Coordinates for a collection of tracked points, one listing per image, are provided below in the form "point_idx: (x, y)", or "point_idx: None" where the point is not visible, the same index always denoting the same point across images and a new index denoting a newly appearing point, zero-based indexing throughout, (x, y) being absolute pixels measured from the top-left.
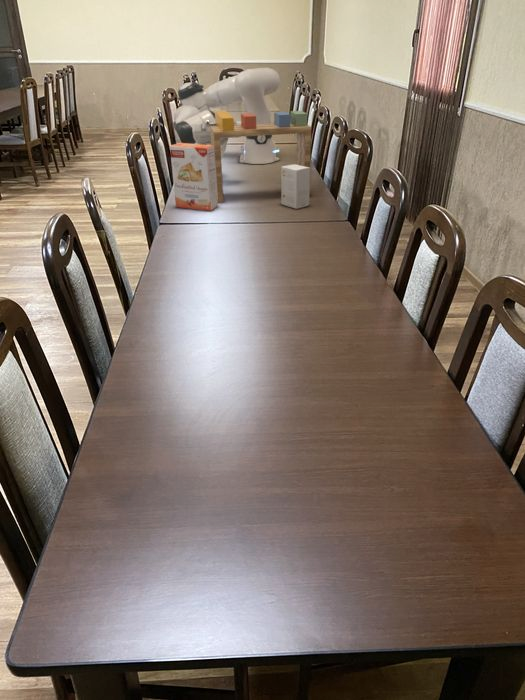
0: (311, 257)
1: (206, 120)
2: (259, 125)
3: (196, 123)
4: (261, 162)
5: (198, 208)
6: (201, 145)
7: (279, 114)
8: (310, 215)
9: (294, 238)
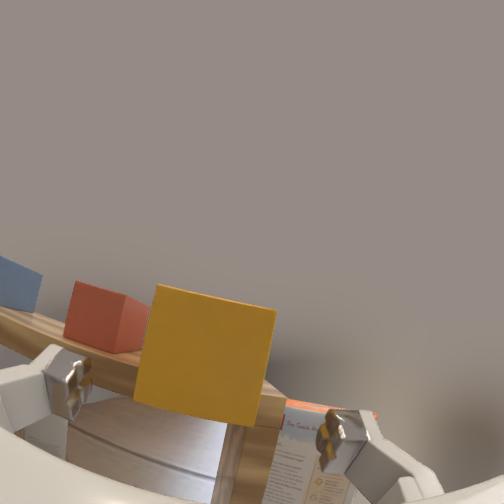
0: (152, 414)
1: (352, 410)
2: (45, 327)
3: (499, 476)
4: None
5: None
6: (288, 401)
7: (35, 272)
8: (66, 439)
9: (143, 429)
